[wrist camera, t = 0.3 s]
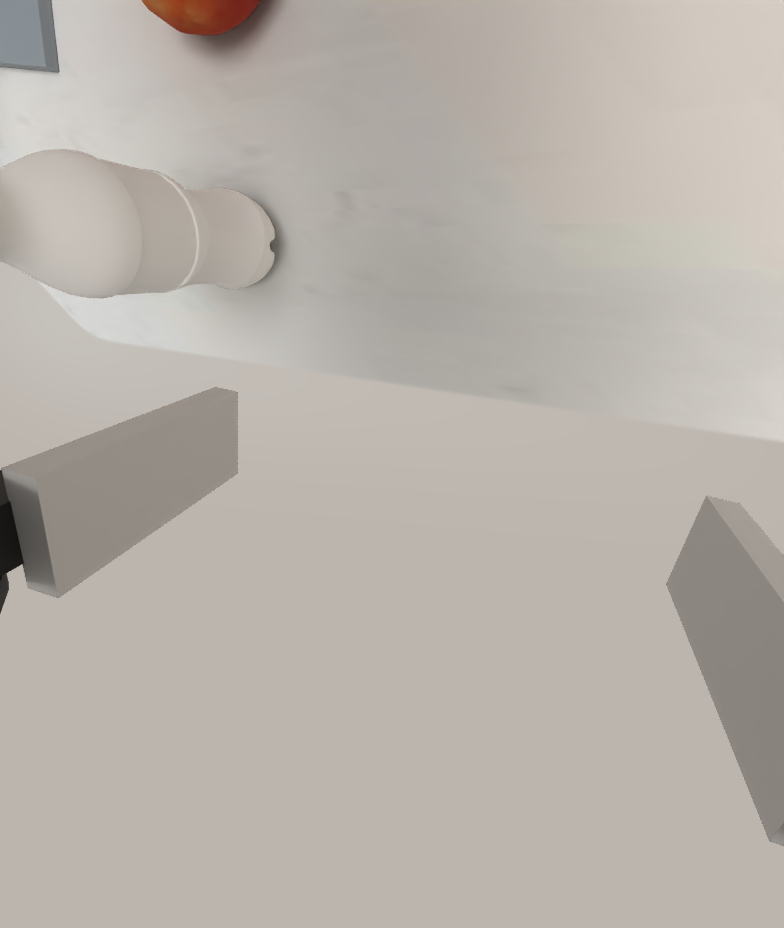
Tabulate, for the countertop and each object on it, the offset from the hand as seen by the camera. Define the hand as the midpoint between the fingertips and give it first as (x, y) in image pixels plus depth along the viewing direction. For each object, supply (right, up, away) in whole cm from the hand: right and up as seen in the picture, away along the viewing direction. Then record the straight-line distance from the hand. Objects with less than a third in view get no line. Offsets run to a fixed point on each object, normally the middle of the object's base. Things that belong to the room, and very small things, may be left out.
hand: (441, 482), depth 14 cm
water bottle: (-13, +19, +27) cm, 36 cm away
